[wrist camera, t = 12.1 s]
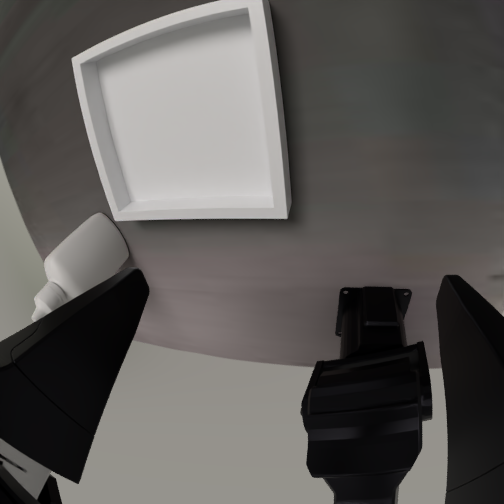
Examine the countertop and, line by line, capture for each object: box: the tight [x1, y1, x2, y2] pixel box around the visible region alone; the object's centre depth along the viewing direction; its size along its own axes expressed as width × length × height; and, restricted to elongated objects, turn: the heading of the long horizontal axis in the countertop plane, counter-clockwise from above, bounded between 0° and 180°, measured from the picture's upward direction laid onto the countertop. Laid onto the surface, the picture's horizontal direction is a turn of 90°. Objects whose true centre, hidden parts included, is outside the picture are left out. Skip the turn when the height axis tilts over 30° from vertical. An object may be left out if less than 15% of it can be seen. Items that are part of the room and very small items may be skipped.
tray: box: [72, 0, 292, 221], centre depth 17 cm, size 14×14×2 cm
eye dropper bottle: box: [31, 213, 129, 322], centre depth 22 cm, size 4×6×12 cm
